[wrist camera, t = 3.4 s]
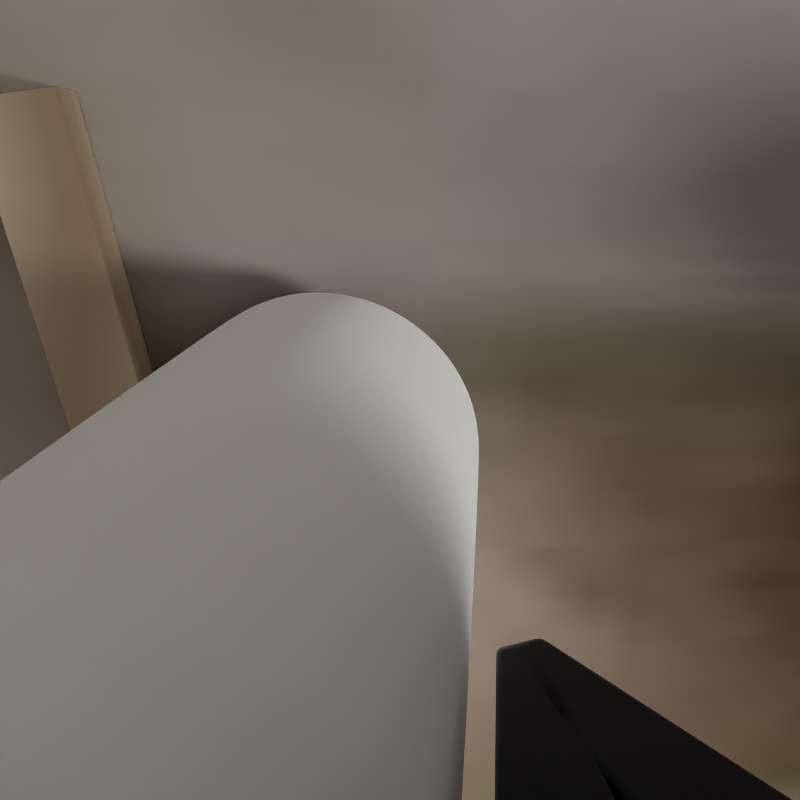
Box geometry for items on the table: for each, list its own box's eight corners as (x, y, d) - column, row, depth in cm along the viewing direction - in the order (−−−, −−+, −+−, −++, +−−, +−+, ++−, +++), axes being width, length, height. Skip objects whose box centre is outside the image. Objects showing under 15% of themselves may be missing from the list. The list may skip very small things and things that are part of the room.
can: (138, 338, 16) (-705, 828, 5) (425, 244, 15) (186, 622, 3) (253, 589, 18) (-160, 1368, 7) (516, 527, 16) (563, 1383, 5)
